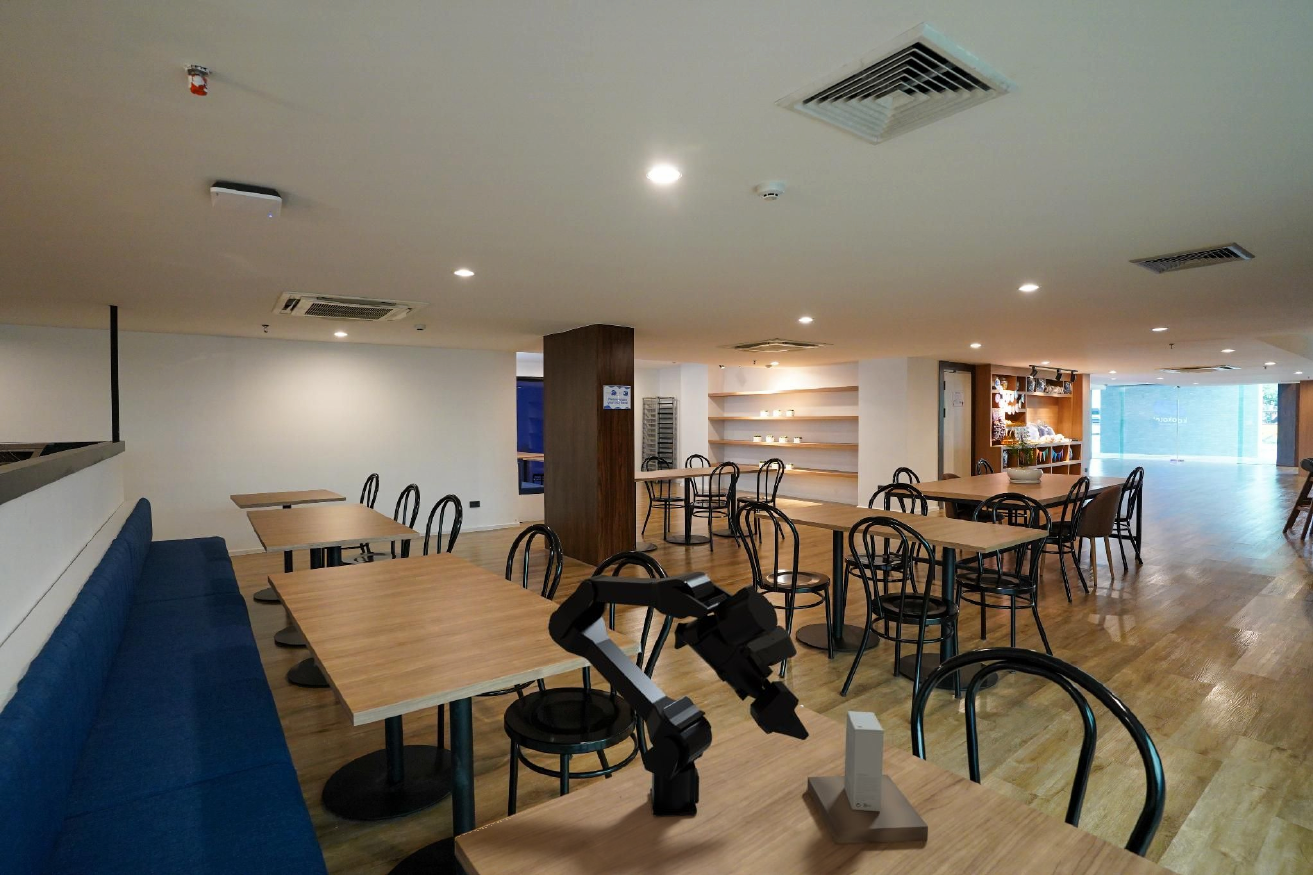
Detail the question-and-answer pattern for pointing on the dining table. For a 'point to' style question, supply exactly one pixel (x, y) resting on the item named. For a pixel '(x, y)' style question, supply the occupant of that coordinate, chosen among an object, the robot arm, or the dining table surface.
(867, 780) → the skincare box
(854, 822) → the walnut plinth
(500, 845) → the dining table surface
